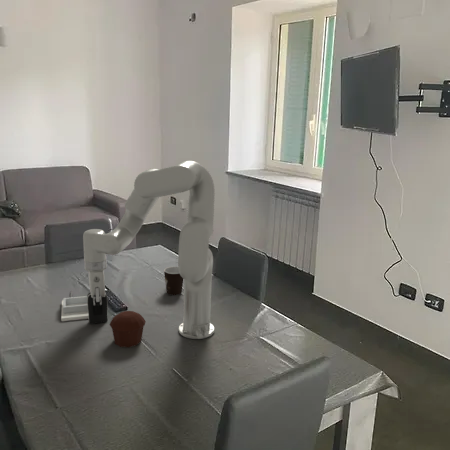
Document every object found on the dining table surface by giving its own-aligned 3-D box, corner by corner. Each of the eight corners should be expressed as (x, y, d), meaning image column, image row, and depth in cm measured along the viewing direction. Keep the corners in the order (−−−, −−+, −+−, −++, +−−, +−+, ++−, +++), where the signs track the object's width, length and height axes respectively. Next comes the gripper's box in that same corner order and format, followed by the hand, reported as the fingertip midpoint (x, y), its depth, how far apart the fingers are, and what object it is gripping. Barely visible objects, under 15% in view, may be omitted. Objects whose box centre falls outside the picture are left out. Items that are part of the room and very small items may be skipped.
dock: (98, 317, 170) (98, 308, 169) (61, 321, 166) (60, 312, 165) (95, 290, 194) (94, 282, 193) (62, 293, 190) (62, 284, 189)
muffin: (110, 351, 148) (109, 322, 145) (109, 334, 158) (108, 307, 155) (147, 347, 151) (147, 319, 148) (144, 331, 161) (144, 305, 159)
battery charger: (106, 317, 170) (105, 288, 167) (108, 322, 167) (107, 292, 164) (87, 320, 168) (85, 291, 165) (88, 324, 164) (87, 295, 161)
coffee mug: (183, 296, 191) (183, 274, 188) (162, 295, 191) (162, 273, 188) (186, 286, 202) (186, 264, 200) (166, 285, 202) (166, 263, 200)
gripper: (108, 271, 155) (110, 321, 160) (104, 256, 170) (106, 301, 175) (85, 273, 153) (87, 323, 157) (83, 257, 168) (86, 303, 173)
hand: (97, 311), depth 166 cm, fingers closed on battery charger, 4 cm apart
